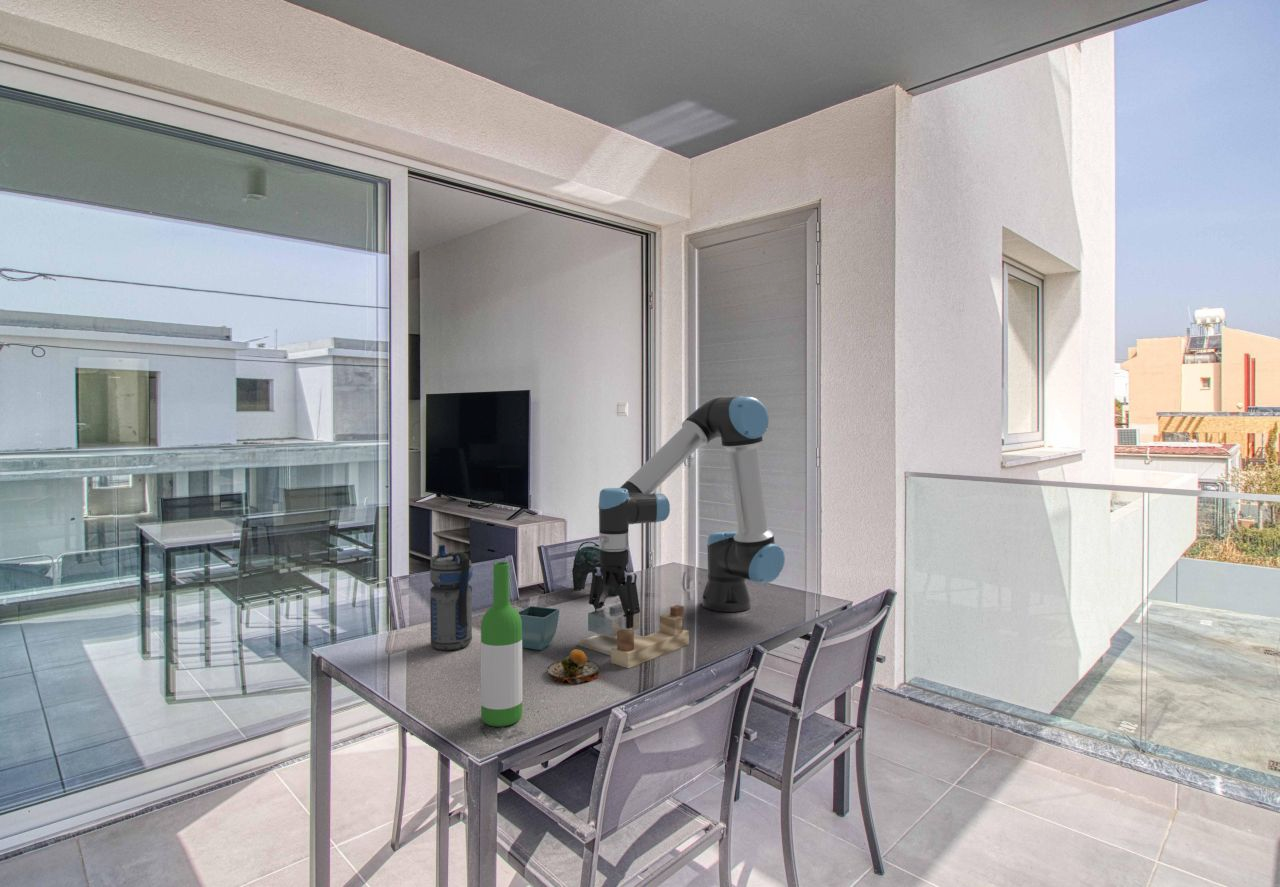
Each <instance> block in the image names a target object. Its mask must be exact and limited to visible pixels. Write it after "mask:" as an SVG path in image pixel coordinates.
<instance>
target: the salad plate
mask: <svg viewBox="0 0 1280 887" xmlns="http://www.w3.org/2000/svg"><path fill="white" fill-rule="evenodd" d="M584 645H585V644H584ZM599 669H600V666H599V664H598V663H596V662H594V661H591V660H588V656H587V654H586V653H585V652H584V651H583V650H582V649H581V650H580V649H576V648H575V649H572V650H571V651H570V652H569V655H568V656H567V657H566V658H564V660H561V661H559V660H558V661H555V662H553V663H552V664H550V665H549V666H547V672H548V675H550V676H552V677H553V678H554V683H555V684H556V683H557V684H558V685H559V684H561V685H564V682H565V681H567V682H568V683H569V684H570V685H576V684H577V685H579V684H580V683H584V682H585V681H587V682H588V683H590V682H593V681H594V680H595V679H598V678H599V676H600V674H601V673H600V671H599Z"/></svg>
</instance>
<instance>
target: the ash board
mask: <svg viewBox="0 0 1280 887" xmlns="http://www.w3.org/2000/svg"><path fill="white" fill-rule="evenodd" d="M641 637H644V635H643V636H642V635H638V634H635V633H634V640H636V639H638V638H641ZM584 644H585V645H584ZM577 646H579V647H582V648H586V649H589V650H592V651H595V652H597V653H601V654H605V655H607V656H610V657H611V648H613V647H616V646H617V636H615V637H608V636H605V635H601V634H596V635H593V636H590V637H587V638H584V639H581V640H578V641H577Z"/></svg>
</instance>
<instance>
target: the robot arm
mask: <svg viewBox="0 0 1280 887" xmlns="http://www.w3.org/2000/svg"><path fill="white" fill-rule="evenodd" d="M769 420H770V419H769V413H768V410H767V408H766V406H765V405H764V404H763V403H762V402H761V401H760V400H759V399H757V398H755V397H753V396H745V395H741V396H740V395H739V396H728V397H722V396H721V397H715V398H713V399H710V400H708V401H706V402H705V403H703V404H702V405H701V406H699V407H698V408H697V409H695V411H693V412H692V413H691V414H690V415H689V416H687V418H686V419H684V420H683V421H682V423H681V428H680V429H679V430H678V431H677V432H675V434H674V435H673V436H672V437H671V438H670V439H669V440H668V441H666V442H665V444H664V445H663V446H661V448H659V449H658V450H657V451H656V452H655V453H654V454H653V455H652V456H651V457H650V458H649V459H648V460H647V461H646V462H645V463H644V464H643V465H642V466H641V467H640V468H639V469H638V470H636V472H635V473H633V474H632V475H631V476H630V477H629V478H628V480H626V481H625V482H624V483H623V484H622V485H621V486H620V487H606V488H603V489H601V490H600V492H599V497H598V510H599V512H598V526H599V527H598V545H599V547H600V548H601V549H600V551H599V563H600V564H601V567H596V568H592V573H591V575H592V576H591V584H590V591H589V598H588V604H589V605H592V606H593V607H594V611H597V610H601V609H604V608H607V607H605V605H606V604H605V602H606V599H607V596H608V591H609V588H610V586H611V585H612V586H614V587H615V590H617V591H618V598H619V600H620V604H622V607H623V610H624V613H625V615H623V616H622V629H629V630H632V628H633V616H634V614H637V613H639V614H640V612H641V607H640V602H639V600H640V599H639V595H638V588H637V576H638V575H637V574H636V573H629V572H628V569H627V568H628V566H627V565H628V564H629V550H628V548H629V545H630V544H629V526H630V525H637V524H648V523H650V524H651V523H654V524H656V523H659V522H665V521H666V520H667V519H668V517H670V511H671V510H670V508H671V505H670V500H669V499H668V496H666V495H665V494H664V493H656V492H655V491H656V490H657V489H658V488H659V487H660V486H661V485H662V483H664V481H666V480H667V479H668V478H669V477H670V476H671V475H672V474H673V473H674V472H676V470H677V469H678V468H679V467H680V466H681V465H682V464H683V463H684V462H686V460H688V458H689V457H690V456H692V454H693V453H694V452H696V451H697V449H699V448H700V447H705V446H706V445H707V444H708V443H709V442H711V441H712V440H714V439H716V438H720V440H721V446H722V447H723V448H724V449H725V450H726V451H727V452H728V453H727V454H728V461H729V468H730V476H731V484H732V485H731V486H732V490H733V492H732V493H733V501H734V509H735V516H736V525H737V530H730V531H718V532H712V533H709V536H708V537H707V545H706V547H707V581H706V585H705V587H704V590H703V593H702V596H701V606H702V607H703V608H705V609H706V610H711V611H715V612H722V613H723V612H724V613H725V612H726V613H735V612H743V611H747V610H749V609H751V607H752V599H751V595H750V593H749V588H748V586H747V583H746V580H748V581H752V582H754V583H761V584H768V583H772V582H774V581H775V580H777V578H779V576H780V575H781V572H782V571H783V570H784V567H785V563H786V562H785V560H786V559H785V558H786V556H785V552H784V550H783V548H782V547H780V546H779V545H778V544H776V542H775V534H774V532H773V531H771V530H770V528H768V527H769V526H768V520H767V514H766V513H767V511H766V504H765V503H766V502H765V494H764V486H763V478H762V469H761V461H760V452H759V448H760V446H761V444H762V443H763V441H764V439H763V435H764V434H765V433H766V432H767V428H769V422H770V421H769ZM620 585H622V586H620ZM628 609H629V611H628ZM595 634H596V635H598V633H595Z"/></svg>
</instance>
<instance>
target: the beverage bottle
mask: <svg viewBox="0 0 1280 887" xmlns="http://www.w3.org/2000/svg"><path fill="white" fill-rule="evenodd" d="M436 554H437V555H433V556H431V557H430V561H429V562H430V564H429V565H430V566H429V569H430V570H429V572H430V573H429V578H430V580H429V581H430V582H431V583H432V585H433V586H432V587H431V588H430V589H429V591H430V592H429V593H430V596H429V597H430V601H429V602H430V607H429V609H430V610H429V611H430V613H429V615H430V644H431V647H433V648H435V649H437V650H441V651H454V650H460V649H463V648H465V647H467V646H469V645H470V644H471V642H472V640H473V608H472V607H473V601H472V600H473V599H472V597H473V594H472V593H473V592H472V590H473V589H472V585H470V584H469V582H470V581H471V580H472V577H473V571H474V570H473V567H472V560H471V559H470V558H469V555H468V554H467V553H465V552H462V551H458V552H454V551H453V552H452V551H451V552H448V553H446V545H445V544H441V545H438V548H437V553H436Z"/></svg>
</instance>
